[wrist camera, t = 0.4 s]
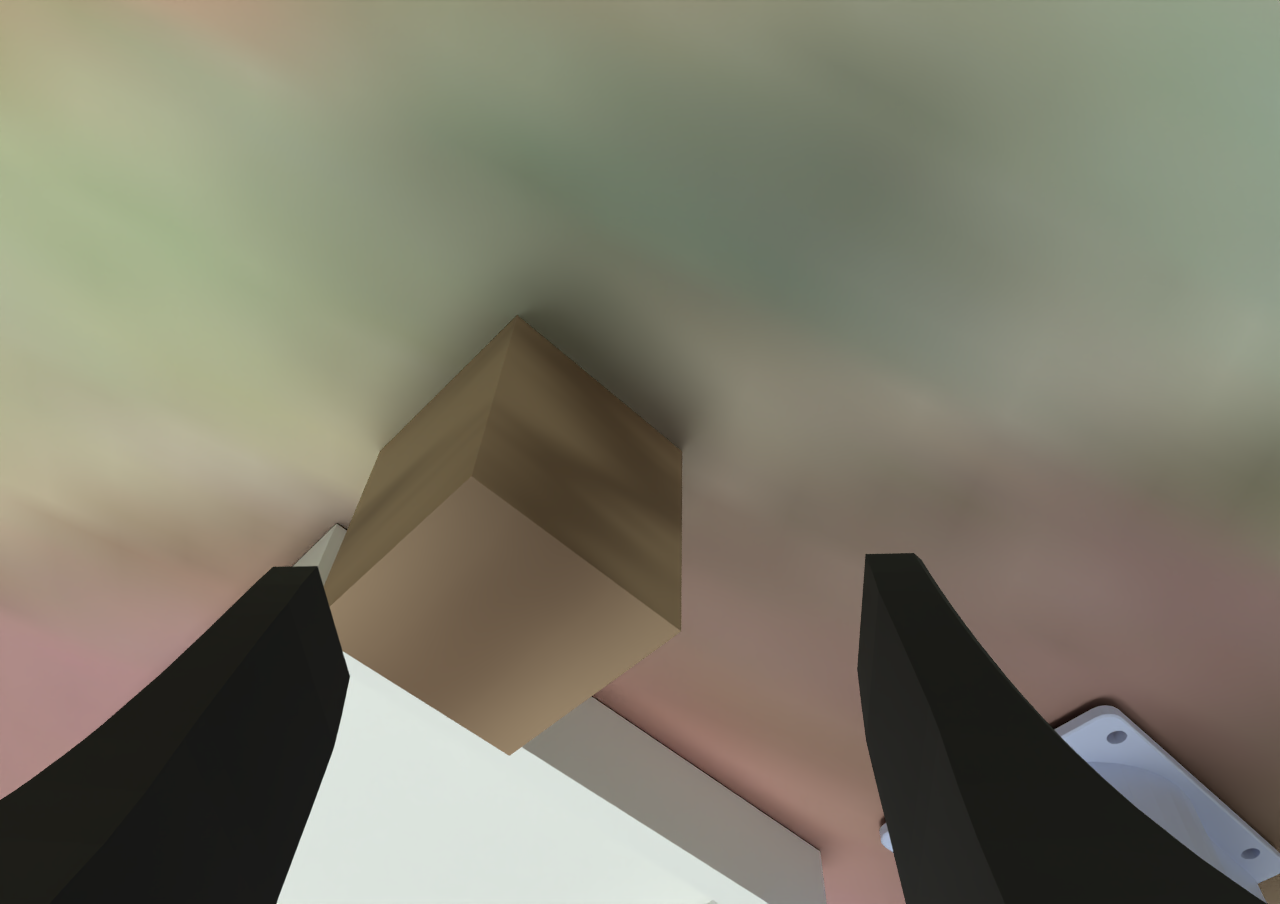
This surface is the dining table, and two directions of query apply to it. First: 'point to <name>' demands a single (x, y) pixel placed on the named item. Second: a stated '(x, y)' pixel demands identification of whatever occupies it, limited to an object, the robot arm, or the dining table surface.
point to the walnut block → (513, 544)
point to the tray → (527, 813)
